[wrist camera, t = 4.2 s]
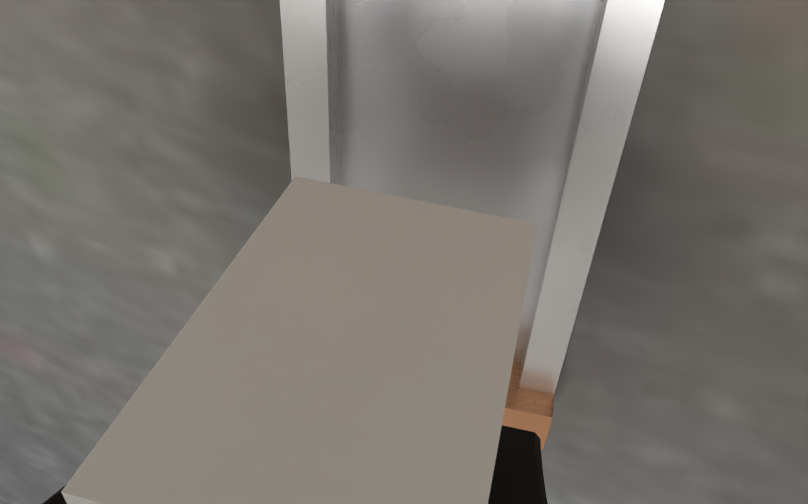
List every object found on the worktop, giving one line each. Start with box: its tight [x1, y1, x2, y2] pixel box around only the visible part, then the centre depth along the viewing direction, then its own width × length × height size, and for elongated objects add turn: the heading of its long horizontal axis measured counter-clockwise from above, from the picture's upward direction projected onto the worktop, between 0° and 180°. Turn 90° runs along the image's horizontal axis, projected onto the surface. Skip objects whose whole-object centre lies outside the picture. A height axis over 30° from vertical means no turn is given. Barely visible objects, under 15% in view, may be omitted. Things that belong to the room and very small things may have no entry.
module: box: [61, 176, 537, 504], centre depth 10 cm, size 6×4×6 cm
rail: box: [280, 0, 665, 450], centre depth 15 cm, size 15×8×4 cm, turn 177°
